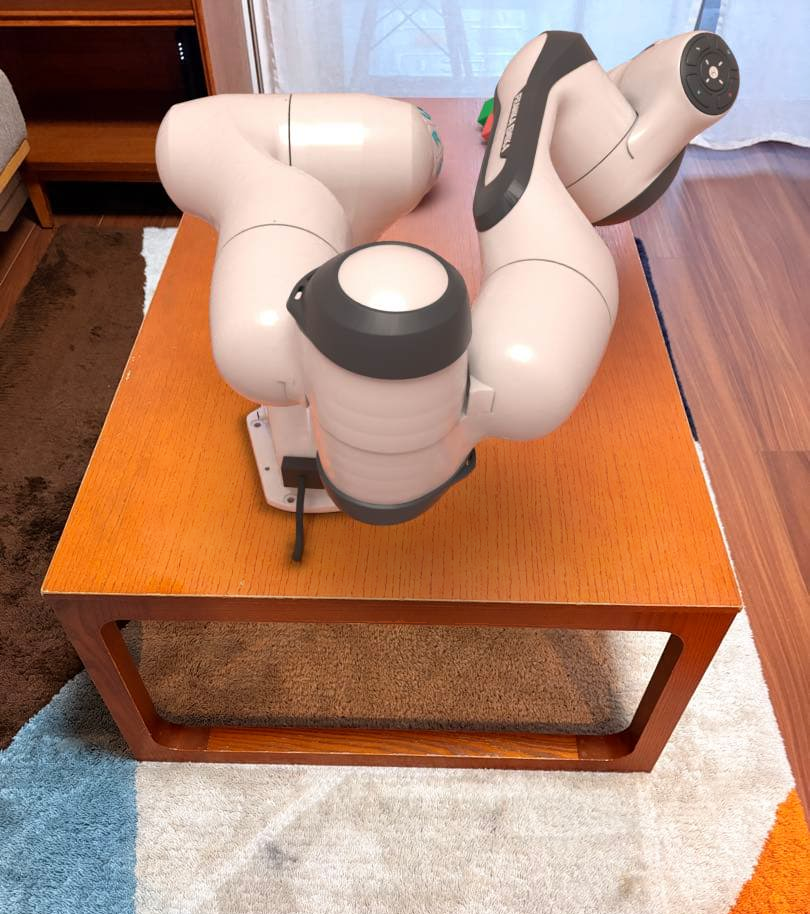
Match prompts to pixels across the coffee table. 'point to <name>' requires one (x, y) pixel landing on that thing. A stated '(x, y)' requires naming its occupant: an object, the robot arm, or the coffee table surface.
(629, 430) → the coffee table surface
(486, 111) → the building blocks
